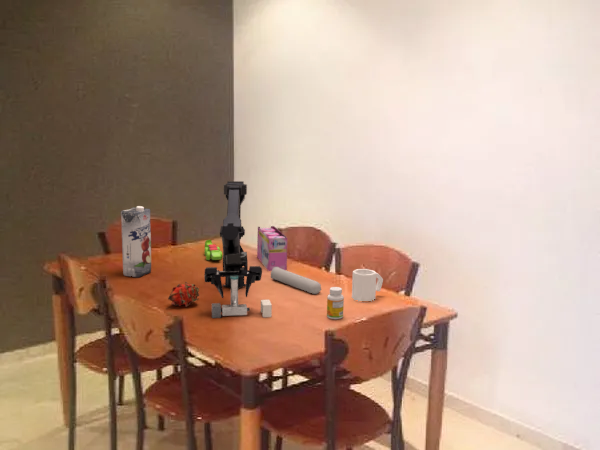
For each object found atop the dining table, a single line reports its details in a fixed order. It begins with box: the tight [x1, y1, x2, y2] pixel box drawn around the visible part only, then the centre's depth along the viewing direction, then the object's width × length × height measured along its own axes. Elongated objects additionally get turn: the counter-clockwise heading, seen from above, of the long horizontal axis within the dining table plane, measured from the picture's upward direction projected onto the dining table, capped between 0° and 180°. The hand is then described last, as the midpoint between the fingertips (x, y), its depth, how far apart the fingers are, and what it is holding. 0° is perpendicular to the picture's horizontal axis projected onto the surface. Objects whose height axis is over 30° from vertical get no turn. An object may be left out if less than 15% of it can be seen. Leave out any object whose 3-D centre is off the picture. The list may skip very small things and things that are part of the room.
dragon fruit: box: [168, 281, 200, 308], centre depth 253 cm, size 8×8×12 cm
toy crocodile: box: [204, 239, 223, 261], centre depth 318 cm, size 20×7×6 cm, turn 13°
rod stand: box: [211, 302, 251, 319], centre depth 244 cm, size 12×4×4 cm, turn 100°
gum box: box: [256, 225, 288, 272], centre depth 310 cm, size 24×8×14 cm, turn 15°
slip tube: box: [221, 275, 248, 317], centre depth 243 cm, size 8×3×13 cm, turn 100°
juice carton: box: [120, 205, 152, 278], centre depth 288 cm, size 9×10×27 cm
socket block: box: [260, 299, 273, 318], centre depth 246 cm, size 3×6×4 cm, turn 10°
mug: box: [351, 268, 384, 302], centre depth 266 cm, size 12×9×10 cm
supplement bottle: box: [326, 286, 345, 320], centre depth 244 cm, size 5×5×10 cm
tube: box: [270, 267, 322, 295], centre depth 278 cm, size 5×5×25 cm
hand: (234, 296), depth 242 cm, fingers open, 7 cm apart
